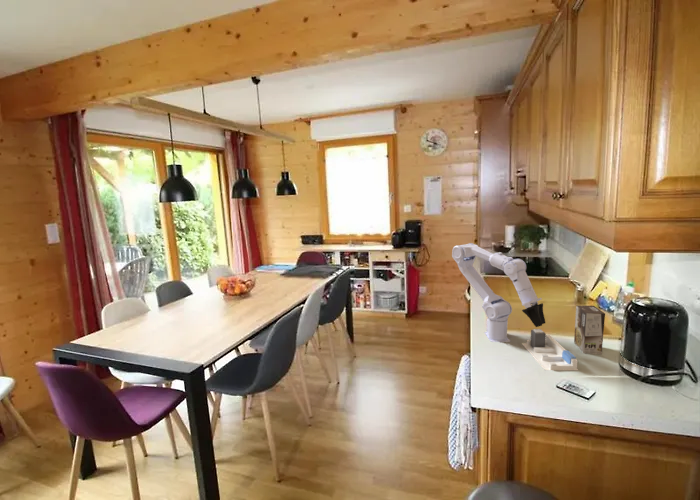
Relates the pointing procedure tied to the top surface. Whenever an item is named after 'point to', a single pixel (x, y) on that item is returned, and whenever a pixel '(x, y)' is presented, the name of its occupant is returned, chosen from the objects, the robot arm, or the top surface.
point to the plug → (537, 338)
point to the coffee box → (589, 329)
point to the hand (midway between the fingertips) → (540, 325)
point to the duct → (552, 355)
